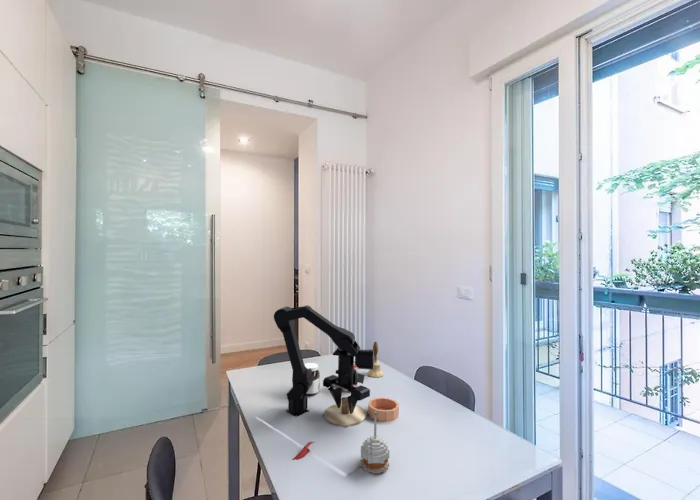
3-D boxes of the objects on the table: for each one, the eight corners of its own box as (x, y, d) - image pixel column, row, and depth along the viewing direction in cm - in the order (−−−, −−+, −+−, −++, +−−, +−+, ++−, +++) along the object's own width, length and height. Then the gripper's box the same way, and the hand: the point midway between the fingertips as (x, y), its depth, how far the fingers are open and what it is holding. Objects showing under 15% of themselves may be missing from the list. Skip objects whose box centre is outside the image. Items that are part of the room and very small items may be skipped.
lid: (345, 431, 109) (346, 412, 109) (315, 415, 119) (316, 398, 119) (374, 415, 120) (374, 398, 120) (344, 402, 130) (344, 387, 130)
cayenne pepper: (317, 441, 105) (317, 435, 105) (326, 447, 101) (326, 441, 101) (284, 456, 97) (284, 449, 97) (292, 463, 93) (292, 457, 93)
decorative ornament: (386, 457, 96) (387, 405, 97) (390, 475, 89) (391, 419, 89) (359, 457, 96) (360, 405, 96) (361, 475, 88) (362, 419, 89)
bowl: (386, 426, 114) (386, 414, 114) (362, 415, 121) (362, 404, 121) (404, 415, 122) (404, 404, 122) (380, 405, 129) (380, 395, 129)
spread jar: (314, 399, 134) (315, 370, 134) (288, 396, 136) (288, 368, 136) (322, 387, 146) (323, 361, 146) (298, 385, 148) (299, 359, 148)
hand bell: (363, 372, 165) (364, 340, 165) (378, 370, 168) (378, 339, 168) (371, 378, 157) (372, 345, 157) (386, 376, 161) (387, 343, 161)
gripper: (379, 368, 119) (379, 411, 119) (343, 356, 132) (342, 396, 132) (359, 376, 111) (358, 423, 111) (322, 363, 124) (321, 405, 124)
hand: (345, 410), depth 120 cm, fingers open, 6 cm apart
